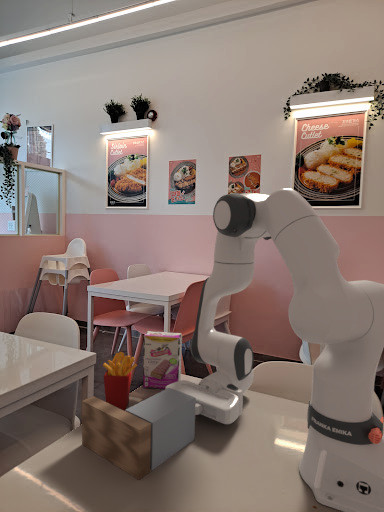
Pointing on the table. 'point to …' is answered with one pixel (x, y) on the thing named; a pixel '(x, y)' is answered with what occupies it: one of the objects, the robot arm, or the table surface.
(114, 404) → the french fries
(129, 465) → the walnut board
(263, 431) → the table surface
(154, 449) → the slate block
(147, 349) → the candy bar box
